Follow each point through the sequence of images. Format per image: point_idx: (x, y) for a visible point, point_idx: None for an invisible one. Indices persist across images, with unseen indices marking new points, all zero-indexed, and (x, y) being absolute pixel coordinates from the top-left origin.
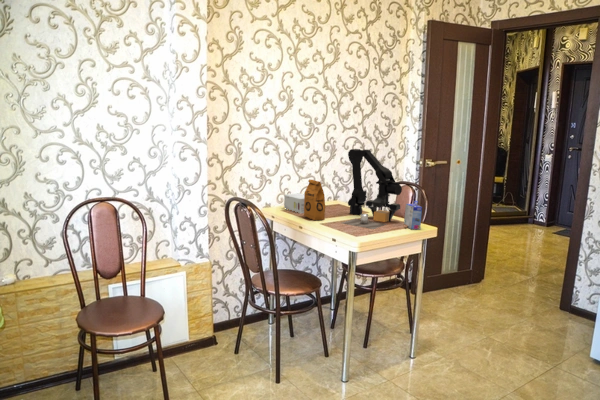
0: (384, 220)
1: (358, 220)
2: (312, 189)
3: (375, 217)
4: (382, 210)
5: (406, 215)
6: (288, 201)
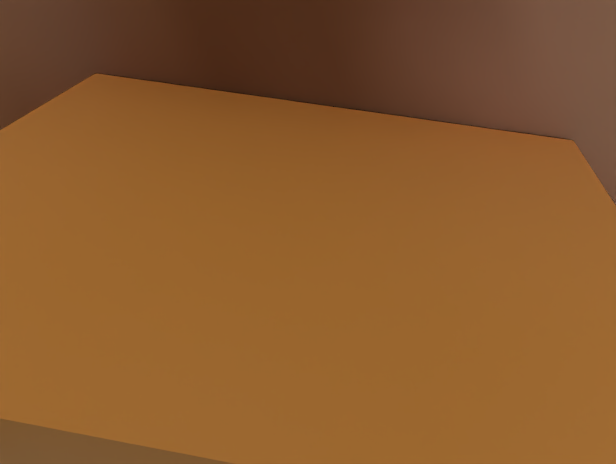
0: (31, 121)
1: None
2: None
3: (524, 232)
4: None
5: None
6: None
